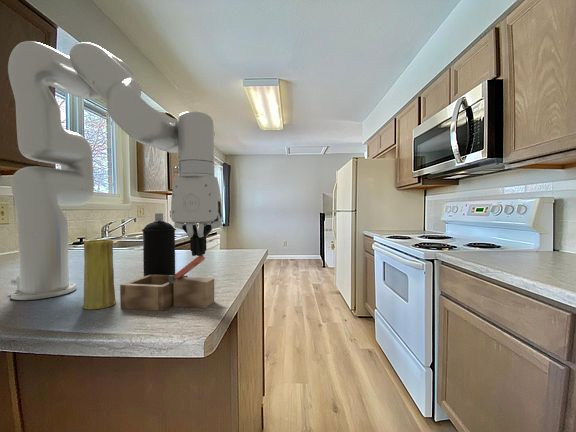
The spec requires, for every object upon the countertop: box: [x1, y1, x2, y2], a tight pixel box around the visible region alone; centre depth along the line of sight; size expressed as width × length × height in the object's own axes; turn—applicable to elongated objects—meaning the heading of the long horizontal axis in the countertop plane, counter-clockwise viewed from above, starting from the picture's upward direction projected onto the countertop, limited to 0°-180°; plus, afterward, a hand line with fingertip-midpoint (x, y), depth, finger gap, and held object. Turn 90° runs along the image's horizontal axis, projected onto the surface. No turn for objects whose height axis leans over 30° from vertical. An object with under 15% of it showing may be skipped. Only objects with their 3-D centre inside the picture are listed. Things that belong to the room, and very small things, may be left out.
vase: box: [82, 238, 117, 311], centre depth 63 cm, size 6×6×14 cm
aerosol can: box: [141, 212, 177, 277], centre depth 77 cm, size 8×8×20 cm
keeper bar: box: [174, 255, 206, 280], centre depth 64 cm, size 8×3×1 cm
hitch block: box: [119, 274, 215, 312], centre depth 65 cm, size 18×10×7 cm, turn 81°
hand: (198, 254), depth 64 cm, fingers closed
